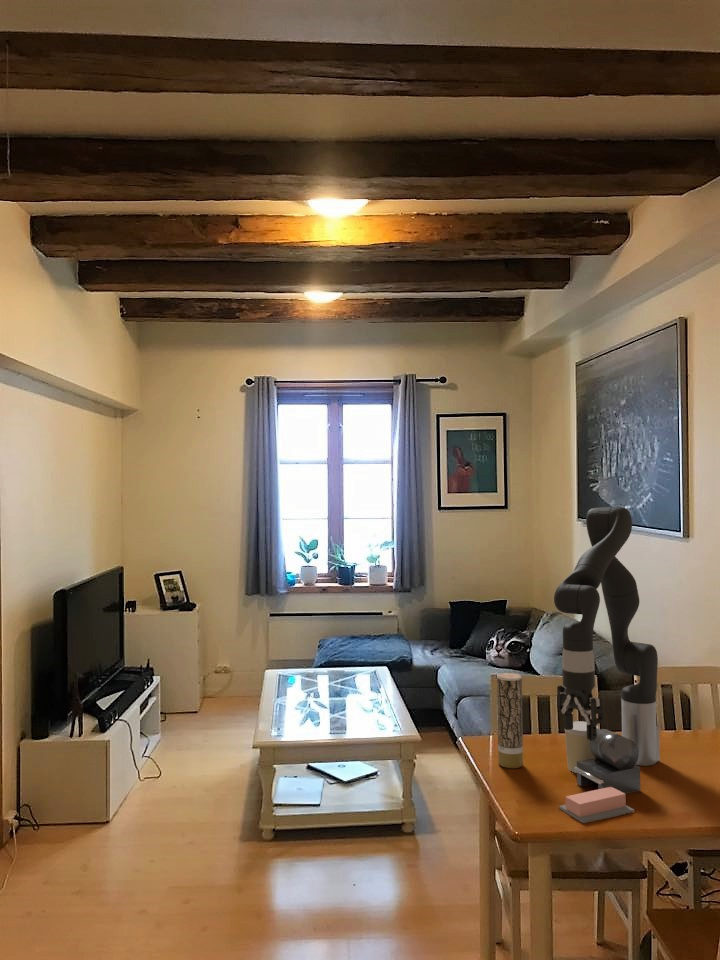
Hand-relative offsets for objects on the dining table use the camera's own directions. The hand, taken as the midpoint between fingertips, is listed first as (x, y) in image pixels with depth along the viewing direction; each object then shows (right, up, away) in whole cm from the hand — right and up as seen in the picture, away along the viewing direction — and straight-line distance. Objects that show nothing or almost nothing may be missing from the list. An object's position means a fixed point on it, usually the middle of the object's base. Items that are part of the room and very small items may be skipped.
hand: (579, 734), depth 187 cm
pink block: (+4, -18, 0) cm, 18 cm away
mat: (+4, -18, 0) cm, 19 cm away
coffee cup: (+8, -19, +26) cm, 33 cm away
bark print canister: (-11, -19, +30) cm, 37 cm away
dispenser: (+11, -18, +14) cm, 25 cm away
